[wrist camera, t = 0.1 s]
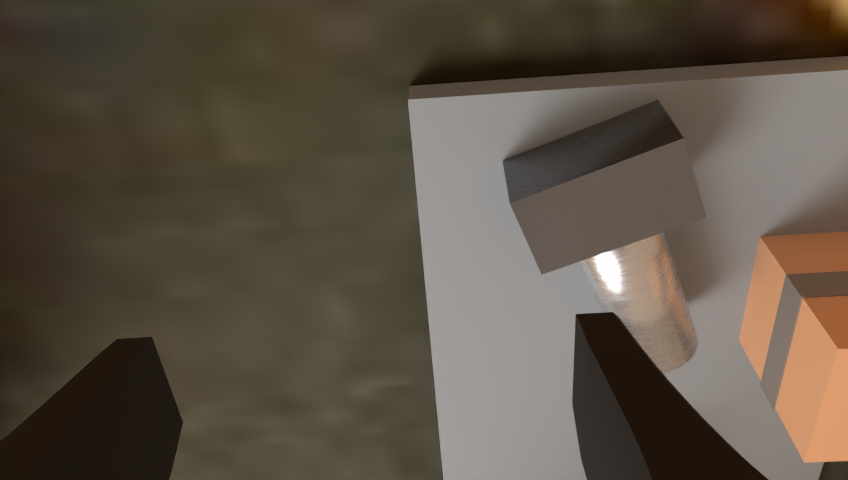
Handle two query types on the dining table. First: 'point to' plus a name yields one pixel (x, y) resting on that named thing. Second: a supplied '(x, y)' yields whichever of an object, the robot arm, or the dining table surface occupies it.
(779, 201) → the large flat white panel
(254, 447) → the dining table surface
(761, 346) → the taped shipping carton
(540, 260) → the output shaft
